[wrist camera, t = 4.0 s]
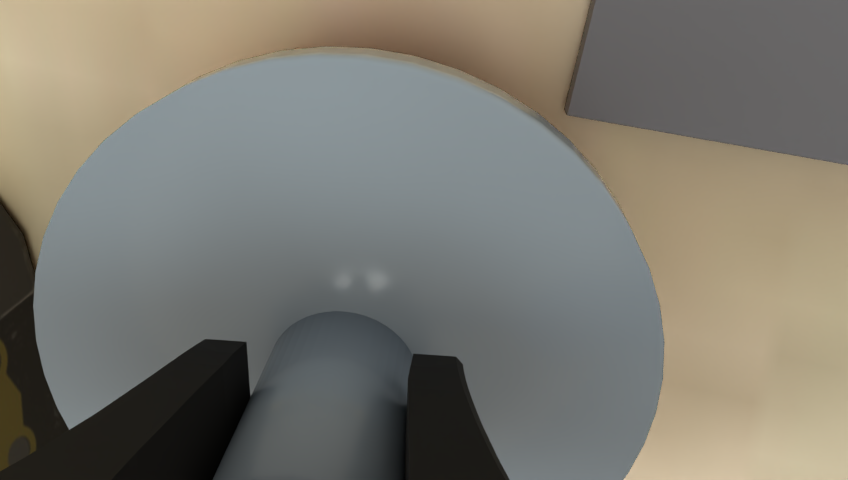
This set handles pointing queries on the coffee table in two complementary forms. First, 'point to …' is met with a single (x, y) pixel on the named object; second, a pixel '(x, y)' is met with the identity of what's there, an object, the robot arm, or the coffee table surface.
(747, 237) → the coffee table surface
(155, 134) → the lid
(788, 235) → the coffee table surface
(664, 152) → the coffee table surface
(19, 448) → the cash box
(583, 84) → the mat
